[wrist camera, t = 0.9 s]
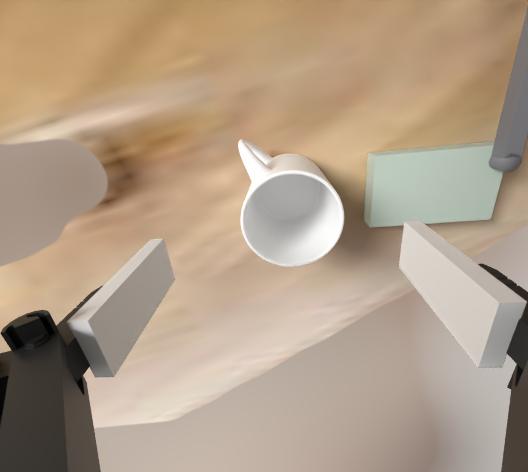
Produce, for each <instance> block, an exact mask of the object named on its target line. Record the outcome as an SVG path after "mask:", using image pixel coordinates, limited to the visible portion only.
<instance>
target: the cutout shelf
mask: <svg viewBox="0 0 528 472" xmlns="http://www.w3.org/2000/svg"><path fill="white" fill-rule="evenodd" d="M527 136H528V8H527V12H526V16H525V20H524V24H523V28H522V32H521V37H520V41H519V45H518V49H517V53H516V57H515V61H514V65H513V69H512V73H511V77H510V81H509V85H508V89H507V94H506V98H505V102H504V106H503V110H502V114H501V118H500V122H499V126H498V130H497V134H496V138H495V142H494V141H491V142H480V143H469V144H458V145H447V146H436V147H425V148H414V149H403V150H392V151H381V152H370V153H368V160H367V176H366V192H365V209H364V221H365V222H366V223H367V224H368V226H369V227H370V228H371V227H386V226H400V225H404V222H406V221H421V222H422V223H424V224H430V223H445V222H459V221H474V220H489V219H491V216H492V213H493V209H494V205H495V202H496V198H497V194H498V190H499V187H500V183H501V179H502V176H503V172H511V171H514V170H515V169H516V168H518V166H519V165H520V163H521V156H522V153H523V150H524V146H525V143H526V139H527Z"/></svg>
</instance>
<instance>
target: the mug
mask: <svg viewBox="0 0 528 472" xmlns="http://www.w3.org/2000/svg"><path fill="white" fill-rule="evenodd" d="M238 147H239V152H240V155H241V158H242V161H243V163H244V165H245V167H246V170H247V172H248V174H249V176H250V178H251V180H252V183H251V186H250V188H249V191H248V193H247V196H246V199H245V201H244V204H243V207H242V211H241V228H242V232H243V235H244V238H245V240H246V242H247V243H248V245H249V246H250V247H251V249H252V250H253V251H254V252H255V253H256V254H257V255H259V256H260V257H261V258H263V259H264V260H266V261H268V262H270V263H273V264H276V265H280V266H287V267H297V266H303V265H307V264H310V263H312V262H315V261H317V260H319V259H320V258H322V257H323V256H325V255H326V254H327V253H328V252H329V251H330V250H331V249H332V248H333V247H334V246H335V244H336V243H337V241H338V239H339V237H340V236H341V233H342V230H343V225H344V209H343V205H342V202H341V199H340V197H339V195H338V194H337V192H336V190H335V189H334V188H333V186H332V185H331V184H330V182H329V181H328V180H327V178H326V177H325V176H324V174H323V173H322V172H321V170H320V169H319V168H318V166H317V165H316V164H315V163H313V162H312V161H311V160H309V159H308V158H306V157H304V156H301V155H298V154H282V155H278V156H275V157H273V158H272V157H271V156H270V155H268V154H267V153H266V152H264V151H263V150H262V149H261V148H259V147H258V146H256V145H255V144H253V143H251V142H250V141H247V140H244V139H241V140H240V141H239V143H238Z"/></svg>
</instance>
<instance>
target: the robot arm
mask: <svg viewBox="0 0 528 472" xmlns="http://www.w3.org/2000/svg"><path fill="white" fill-rule="evenodd" d="M399 268H400V269H401V270H402V272H403V273H404V274H405V275H406V277H407V278H408V279H409V281H410V282H411V283H412V284H413V286H414V287H415V288H416V289H417V291H418V292H419V293H420V294H421V296H422V297H423V298H424V300H425V301H426V302H427V303H428V305H429V306H430V307H431V309H432V310H433V311H434V312H435V314H436V315H437V316H438V317H439V319H440V320H441V321H442V323H443V324H444V325H445V326H446V328H447V329H448V330H449V331H450V333H451V334H452V335H453V337H454V338H455V339H456V340H457V342H458V343H459V344H460V345H461V347H462V348H463V349H464V350H465V352H466V353H467V354H468V356H469V357H470V358H471V359H472V361H473V362H474V363H475V365H476V366H477V367H478V368H496V367H497V368H498V367H503V364H504V361H505V359H506V355H507V354H508V355H509V356H510V357H511V358H512V359H513V360H514V361H515V362H516V363H517V365H516V367H515V370H514V372H513V375H512V377H511V380H510V382H509V385H508V388H509V389H511V397H510V406H509V414H508V422H507V429H506V438H505V446H504V454H503V462H502V470H501V472H528V292H527V291H526V290H524V289H523V288H521V287H520V286H517V284H516V283H514V282H513V281H512V280H510V279H508V278H507V277H506V276H505V275H503V274H502V273H500V272H499V271H498V270H496V269H493V268H491V267H489V266H487V265H484V264H477V263H475V262H474V261H472V260H471V259H470V258H469V257H467V256H466V255H465V254H463V253H462V252H461V251H459V250H458V249H457V248H455V247H454V246H453V245H451V244H450V243H449V242H447V241H446V240H445V239H443V238H442V237H441V236H439V235H438V234H437V233H436V232H434V231H433V230H432V229H430V228H429V227H428V226H426V225H425V224H424V223H422V222H421V221H406V222H404V229H403V237H402V245H401V253H400V261H399ZM174 280H175V278H174V274H173V270H172V267H171V263H170V260H169V256H168V252H167V249H166V245H165V242H164V238H163V239H151V240H150V241H149V242H148V243H146V244H145V245H144V246H143V247H142V248H141V249H140V250H139V251H138V252H137V253H136V254H135V255H134V256H133V257H132V258H131V259H130V260H129V261H128V262H127V263H126V264H125V265H124V266H123V267H122V268H121V269H120V270H119V271H118V272H117V273H116V274H115V275H114V276H113V277H112V278H111V279H110V280H109V281H108V282H107V283H106V284H105V285H104V286H101V287H99V288H98V289H96V290H95V291H93V292H91V293H90V294H89V295H88V296H87V297H86V298H85V299H84V300H83V302H81V303H80V304H79V305H78V306H77V308H75V309H73V310H72V311H71V312H70V313H69V314H68V315H67V316H66V317H65V318H64V319H63V320H62V321H61V322H60V323H59V324H58V325H57V326H56V325H55V323H54V321H53V319H52V317H51V315H50V313H49V312H48V311H45V310H39V311H34V312H31V313H27V314H25V315H23V316H21V317H18V318H17V319H15V320H13V321H12V322H10V323H9V324H8V325H7V326H5V327H4V328H3V330H2V331H1V335H2V336H3V338H4V339H5V341H6V342H7V344H8V345H9V347H10V348H11V350H12V351H8V352H4V353H0V472H101V471H100V465H99V459H98V453H97V446H96V440H95V433H94V427H93V420H92V414H91V408H90V401H89V395H88V389H87V382H86V380H85V378H84V376H83V375H84V373H85V372H86V371H87V369H88V368H89V367H90V368H91V370H92V372H93V374H94V376H95V377H114V376H115V375H116V373H117V371H118V370H119V368H120V367H121V365H122V363H123V362H124V360H125V359H126V357H127V355H128V354H129V352H130V351H131V349H132V347H133V346H134V344H135V343H136V341H137V339H138V338H139V336H140V335H141V333H142V331H143V330H144V328H145V327H146V325H147V323H148V322H149V320H150V319H151V317H152V315H153V314H154V312H155V311H156V309H157V307H158V306H159V304H160V303H161V301H162V299H163V298H164V296H165V295H166V293H167V291H168V290H169V288H170V287H171V285H172V283H173V282H174Z"/></svg>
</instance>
